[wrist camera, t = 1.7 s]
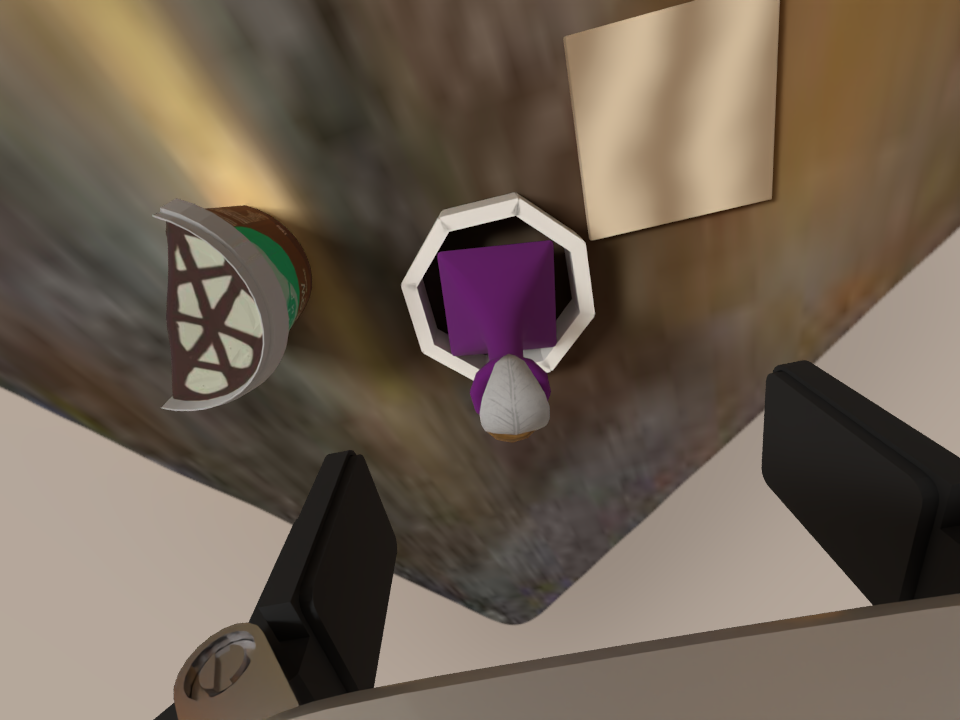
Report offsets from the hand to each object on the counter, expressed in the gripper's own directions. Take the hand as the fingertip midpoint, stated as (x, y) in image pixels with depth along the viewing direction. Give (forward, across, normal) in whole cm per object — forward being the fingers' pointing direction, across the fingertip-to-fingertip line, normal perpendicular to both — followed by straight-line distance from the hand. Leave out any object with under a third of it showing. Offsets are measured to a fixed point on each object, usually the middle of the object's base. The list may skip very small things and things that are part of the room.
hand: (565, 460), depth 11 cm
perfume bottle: (+25, +1, +3) cm, 25 cm away
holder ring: (+25, +1, +3) cm, 25 cm away
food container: (+25, +16, -1) cm, 30 cm away
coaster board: (+24, -12, -5) cm, 28 cm away
